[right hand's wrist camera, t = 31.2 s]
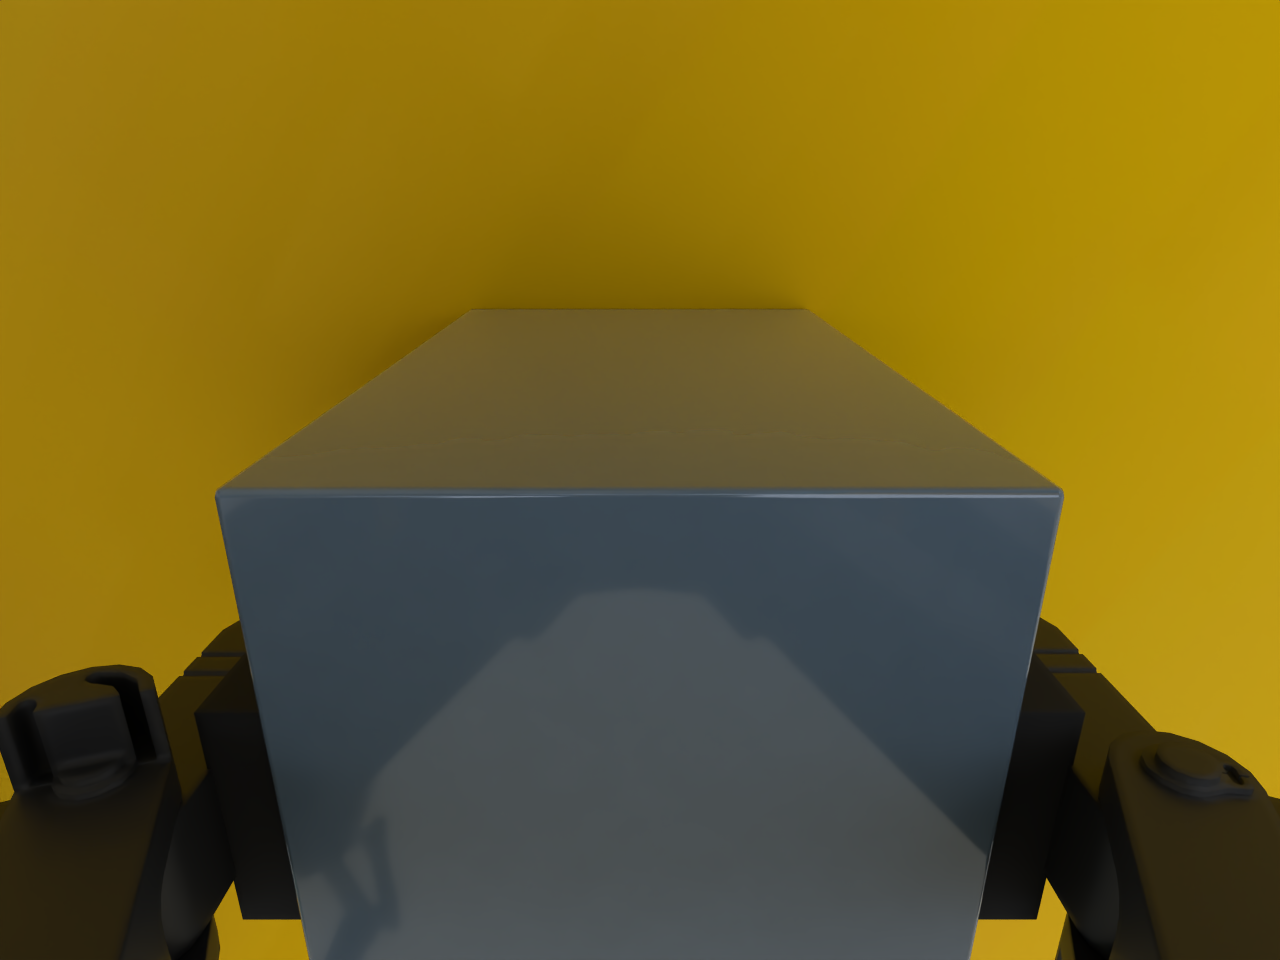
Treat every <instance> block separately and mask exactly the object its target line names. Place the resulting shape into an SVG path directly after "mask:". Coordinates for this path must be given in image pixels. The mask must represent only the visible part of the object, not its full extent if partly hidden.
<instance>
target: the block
mask: <svg viewBox="0 0 1280 960" xmlns="http://www.w3.org/2000/svg"><path fill="white" fill-rule="evenodd" d="M215 500H216V505H217V510H218V515H219V520H220V525H221V530H222V534H223V539H224V544H225V549H226V554H227V559H228V564H229V569H230V574H231V578H232V583H233V588H234V593H235V598H236V603H237V608H238V613H239V618H240V623H241V627H242V632H243V637H244V642H245V647H246V652H247V657H248V662H249V667H250V672H251V676H252V681H253V686H254V691H255V696H256V701H257V706H258V711H259V716H260V720H261V725H262V730H263V735H264V740H265V745H266V750H267V755H268V760H269V765H270V769H271V774H272V779H273V784H274V789H275V794H276V799H277V804H278V809H279V814H280V818H281V823H282V828H283V833H284V838H285V843H286V848H287V853H288V858H289V862H290V867H291V872H292V877H293V882H294V887H295V892H296V897H297V902H298V907H299V911H300V916H301V921H302V926H303V931H304V936H305V941H306V946H307V951H308V956H309V960H970V956H971V951H972V946H973V941H974V937H975V932H976V927H977V922H978V917H979V912H980V907H981V902H982V897H983V892H984V887H985V883H986V878H987V873H988V868H989V863H990V858H991V853H992V848H993V843H994V838H995V834H996V829H997V824H998V819H999V814H1000V809H1001V804H1002V799H1003V794H1004V789H1005V784H1006V780H1007V775H1008V770H1009V765H1010V760H1011V755H1012V750H1013V745H1014V740H1015V735H1016V731H1017V726H1018V721H1019V716H1020V711H1021V706H1022V701H1023V696H1024V691H1025V686H1026V682H1027V677H1028V672H1029V667H1030V662H1031V657H1032V652H1033V647H1034V642H1035V637H1036V632H1037V628H1038V623H1039V618H1040V613H1041V608H1042V603H1043V598H1044V593H1045V588H1046V583H1047V579H1048V574H1049V569H1050V564H1051V559H1052V554H1053V549H1054V544H1055V539H1056V534H1057V529H1058V525H1059V520H1060V515H1061V510H1062V505H1063V500H1064V494H1063V490H1062V488H1060V487H1059V486H1057V485H1056V484H1055V483H1053V482H1052V481H1050V480H1049V479H1047V478H1046V477H1045V476H1043V475H1042V474H1040V473H1039V472H1038V471H1036V470H1035V469H1033V468H1032V467H1030V466H1029V465H1028V464H1026V463H1025V462H1023V461H1022V460H1021V459H1019V458H1018V457H1016V456H1015V455H1013V454H1012V453H1011V452H1009V451H1008V450H1006V449H1005V448H1004V447H1002V446H1001V445H999V444H998V443H996V442H995V441H994V440H992V439H991V438H989V437H988V436H987V435H985V434H984V433H982V432H981V431H979V430H978V429H977V428H975V427H974V426H972V425H971V424H970V423H968V422H967V421H965V420H964V419H962V418H961V417H960V416H958V415H957V414H955V413H954V412H953V411H951V410H950V409H948V408H947V407H946V406H944V405H943V404H941V403H940V402H938V401H937V400H936V399H934V398H933V397H931V396H930V395H929V394H927V393H926V392H924V391H923V390H921V389H920V388H919V387H917V386H916V385H914V384H913V383H912V382H910V381H909V380H907V379H906V378H904V377H903V376H902V375H900V374H899V373H897V372H896V371H895V370H893V369H892V368H890V367H889V366H887V365H886V364H885V363H883V362H882V361H880V360H879V359H878V358H876V357H875V356H873V355H872V354H870V353H869V352H868V351H866V350H865V349H863V348H862V347H861V346H859V345H858V344H856V343H855V342H853V341H852V340H851V339H849V338H848V337H846V336H845V335H844V334H842V333H841V332H839V331H838V330H836V329H835V328H834V327H832V326H831V325H829V324H828V323H827V322H825V321H824V320H822V319H821V318H819V317H818V316H817V315H815V314H814V313H812V312H811V311H810V310H807V309H472V310H470V311H468V312H467V313H465V314H464V315H462V316H461V317H460V318H458V319H457V320H455V321H454V322H453V323H451V324H450V325H448V326H447V327H445V328H444V329H443V330H441V331H440V332H438V333H437V334H436V335H434V336H433V337H431V338H430V339H428V340H427V341H426V342H424V343H423V344H421V345H420V346H419V347H417V348H416V349H414V350H413V351H411V352H410V353H409V354H407V355H406V356H404V357H403V358H402V359H400V360H399V361H397V362H396V363H394V364H393V365H392V366H390V367H389V368H387V369H386V370H385V371H383V372H382V373H380V374H379V375H378V376H376V377H375V378H373V379H372V380H370V381H369V382H368V383H366V384H365V385H363V386H362V387H361V388H359V389H358V390H356V391H355V392H353V393H352V394H351V395H349V396H348V397H346V398H345V399H344V400H342V401H341V402H339V403H338V404H336V405H335V406H334V407H332V408H331V409H329V410H328V411H327V412H325V413H324V414H322V415H321V416H319V417H318V418H317V419H315V420H314V421H312V422H311V423H310V424H308V425H307V426H305V427H304V428H302V429H301V430H300V431H298V432H297V433H295V434H294V435H293V436H291V437H290V438H288V439H287V440H285V441H284V442H283V443H281V444H280V445H278V446H277V447H276V448H274V449H273V450H271V451H270V452H269V453H267V454H266V455H264V456H263V457H261V458H260V459H259V460H257V461H256V462H254V463H253V464H252V465H250V466H249V467H247V468H246V469H244V470H243V471H242V472H240V473H239V474H237V475H236V476H235V477H233V478H232V479H230V480H229V481H227V482H226V483H225V484H223V485H222V486H220V487H219V488H218V489H217V490H216V494H215Z"/></svg>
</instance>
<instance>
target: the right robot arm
mask: <svg viewBox="0 0 1280 960" xmlns="http://www.w3.org/2000/svg"><path fill="white" fill-rule="evenodd" d="M0 752H1V755H2V757H3V760H4V763H5V766H6V769H7V772H8V775H9V778H10V780H11V783H12V786H13V789H14V794H13V796H12V798H11V800H8V801H5V802H0V960H219V952H220V944H219V937H218V930H217V926H216V922H215V919H214V913H215V911H216V909H217V908H218V906H219V904H220V903H221V901H222V899H223V898H224V896H225V894H226V892H227V891H228V889H229V887H230V886H231V884H232V882H233V881H234V884H235V888H236V892H237V897H238V901H239V905H240V909H241V913H242V917H243V919H301V916H300V911H299V907H298V902H297V897H296V892H295V887H294V882H293V877H292V872H291V867H290V862H289V858H288V853H287V848H286V843H285V838H284V833H283V828H282V823H281V818H280V814H279V809H278V804H277V799H276V794H275V789H274V784H273V779H272V774H271V769H270V765H269V760H268V755H267V750H266V745H265V740H264V735H263V730H262V725H261V720H260V716H259V711H258V706H257V701H256V696H255V691H254V686H253V681H252V676H251V672H250V667H249V662H248V657H247V652H246V647H245V642H244V637H243V632H242V627H241V623H240V620H239V621H238V622H236V623H234V624H232V625H231V626H229V627H227V628H226V629H224V630H223V631H222V632H221V633H220V634H219V635H218V636H217V637H216V638H215V639H214V640H213V641H212V642H211V643H210V644H209V645H208V646H207V647H206V648H205V649H204V651H203V652H202V655H201V657H197V658H196V659H195V660H194V661H193V662H192V663H191V664H190V665H189V666H188V667H187V668H186V669H185V671H184V675H183V676H179V677H178V678H177V679H176V680H175V681H174V682H173V683H172V684H171V685H170V686H169V687H168V688H167V689H166V691H165V692H164V693H163V694H162V695H161V696H160V697H159V698H158V695H157V691H156V687H155V683H154V680H153V676H152V675H150V674H149V673H147V672H146V671H144V670H143V669H142V668H139V667H132V666H125V665H110V666H99V667H90V668H86V669H83V670H79V671H75V672H71V673H67V674H63V675H60V676H57V677H55V678H53V679H50V680H48V681H45V682H43V683H41V684H38V685H36V686H33V687H31V688H29V689H28V690H26V691H25V692H23V693H21V694H20V695H18V696H17V697H15V698H13V699H12V700H10V701H9V702H7V703H6V704H5V705H4V706H3V707H2V708H1V709H0ZM1046 877H1047V879H1048V881H1049V883H1050V884H1051V886H1052V888H1053V889H1054V891H1055V893H1056V894H1057V896H1058V898H1059V899H1060V901H1061V903H1062V904H1063V906H1064V908H1065V910H1066V911H1067V915H1066V919H1065V922H1064V926H1063V930H1062V934H1061V938H1060V942H1059V946H1058V950H1057V954H1056V958H1055V960H1280V799H1278V798H1274V797H1270V796H1268V794H1267V792H1266V791H1265V789H1264V788H1263V787H1262V786H1261V784H1260V783H1259V782H1258V781H1257V779H1256V778H1255V777H1254V776H1253V774H1252V773H1251V772H1250V771H1248V770H1247V769H1245V768H1244V767H1243V766H1241V765H1240V764H1239V763H1237V762H1236V761H1235V760H1233V759H1232V758H1230V757H1229V756H1228V755H1226V754H1224V753H1222V752H1220V751H1217V750H1215V749H1213V748H1211V747H1209V746H1207V745H1205V744H1203V743H1201V742H1199V741H1195V740H1192V739H1189V738H1185V737H1182V736H1178V735H1175V734H1172V733H1166V732H1157V731H1156V730H1155V729H1154V728H1153V727H1152V726H1151V725H1150V724H1149V723H1148V722H1147V721H1146V720H1145V719H1144V718H1143V717H1142V716H1141V715H1140V714H1139V713H1138V712H1137V710H1136V709H1135V708H1134V707H1133V706H1132V705H1131V704H1130V703H1129V702H1128V701H1127V700H1126V699H1125V698H1124V697H1123V696H1122V695H1121V694H1120V693H1119V692H1118V691H1117V690H1116V689H1115V687H1114V686H1113V685H1112V684H1111V683H1110V682H1109V681H1108V680H1107V679H1106V678H1105V677H1104V676H1103V675H1102V674H1101V673H1097V672H1096V668H1095V667H1094V666H1093V664H1092V663H1091V662H1090V661H1089V660H1088V659H1087V658H1086V657H1085V656H1084V655H1083V654H1079V653H1078V649H1077V648H1076V647H1075V646H1074V645H1073V644H1072V643H1071V641H1070V640H1069V639H1068V638H1067V637H1066V636H1065V635H1064V634H1063V633H1062V632H1061V631H1060V630H1059V629H1058V628H1057V627H1056V626H1054V625H1052V624H1050V623H1049V622H1047V621H1045V620H1043V619H1042V618H1039V623H1038V628H1037V632H1036V637H1035V642H1034V647H1033V652H1032V657H1031V662H1030V667H1029V672H1028V677H1027V682H1026V686H1025V691H1024V696H1023V701H1022V706H1021V711H1020V716H1019V721H1018V726H1017V731H1016V735H1015V740H1014V745H1013V750H1012V755H1011V760H1010V765H1009V770H1008V775H1007V780H1006V784H1005V789H1004V794H1003V799H1002V804H1001V809H1000V814H999V819H998V824H997V829H996V834H995V838H994V843H993V848H992V853H991V858H990V863H989V868H988V873H987V878H986V883H985V887H984V892H983V897H982V902H981V907H980V912H979V917H978V919H1037V915H1038V911H1039V907H1040V902H1041V898H1042V894H1043V890H1044V886H1045V881H1046Z"/></svg>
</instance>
